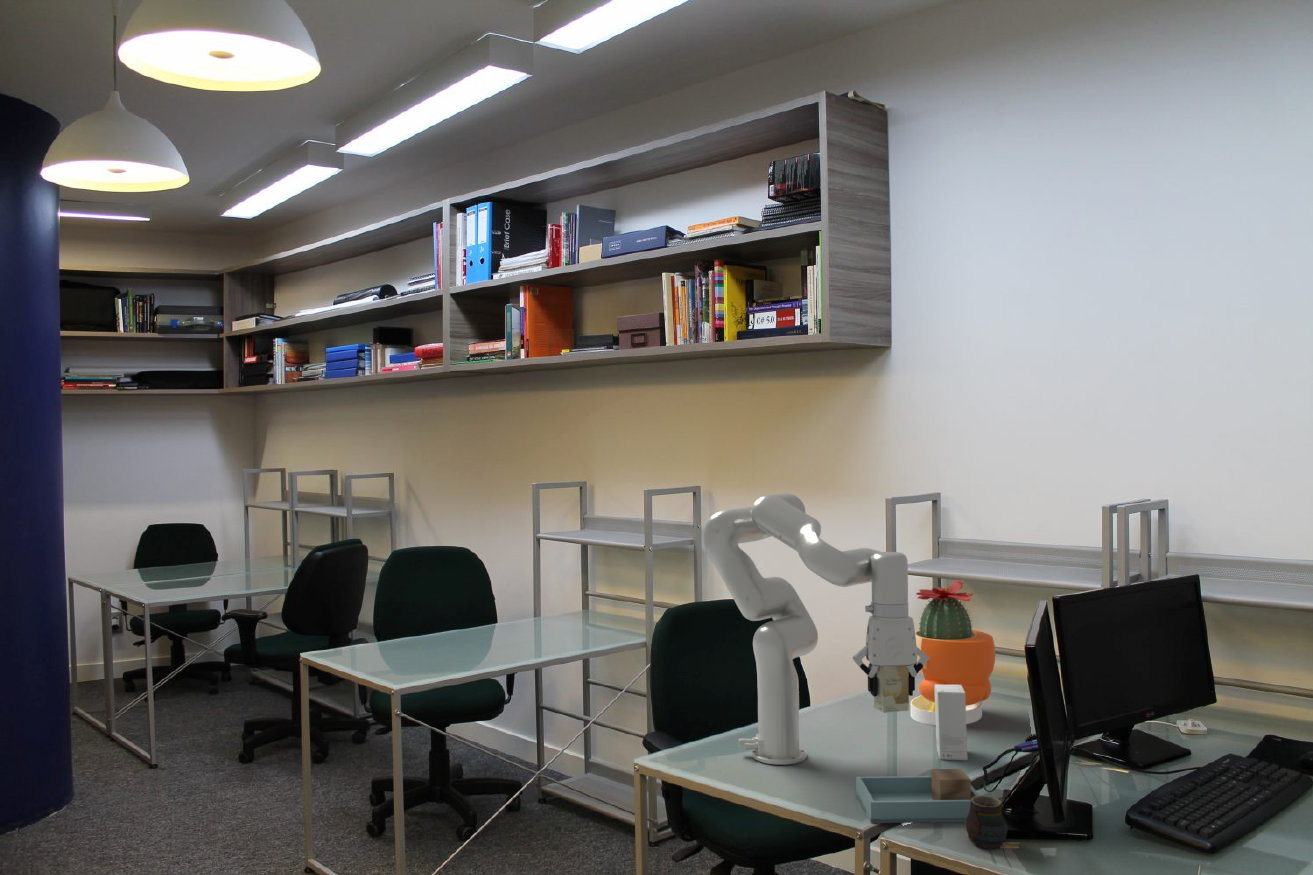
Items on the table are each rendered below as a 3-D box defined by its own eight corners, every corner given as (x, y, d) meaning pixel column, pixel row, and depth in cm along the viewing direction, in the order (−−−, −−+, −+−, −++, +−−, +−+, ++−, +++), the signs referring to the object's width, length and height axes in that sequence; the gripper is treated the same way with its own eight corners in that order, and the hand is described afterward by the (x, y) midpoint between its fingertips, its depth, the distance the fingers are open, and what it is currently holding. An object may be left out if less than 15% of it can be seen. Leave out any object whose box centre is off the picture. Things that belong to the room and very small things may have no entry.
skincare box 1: (883, 713, 203) (882, 655, 203) (873, 708, 207) (872, 650, 207) (910, 710, 204) (909, 652, 204) (899, 705, 209) (898, 648, 209)
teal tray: (871, 823, 187) (870, 802, 187) (856, 795, 201) (856, 776, 201) (985, 821, 187) (985, 801, 187) (962, 794, 201) (962, 775, 201)
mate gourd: (1000, 835, 180) (1000, 782, 180) (1013, 853, 173) (1013, 797, 173) (961, 835, 181) (961, 782, 181) (973, 852, 173) (972, 797, 173)
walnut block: (940, 809, 191) (940, 779, 191) (931, 798, 197) (931, 768, 197) (970, 809, 191) (970, 779, 191) (961, 798, 197) (961, 768, 197)
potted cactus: (895, 716, 256) (893, 584, 256) (941, 700, 271) (939, 575, 271) (969, 734, 240) (968, 593, 240) (1014, 716, 255) (1012, 583, 255)
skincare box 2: (967, 761, 221) (966, 693, 221) (937, 759, 222) (936, 691, 222) (963, 749, 229) (962, 683, 229) (934, 748, 230) (933, 682, 230)
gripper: (853, 614, 202) (854, 700, 202) (936, 613, 202) (937, 698, 202) (845, 608, 209) (846, 690, 209) (925, 606, 210) (926, 689, 210)
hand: (891, 693), depth 206 cm, fingers closed on skincare box 1, 7 cm apart
